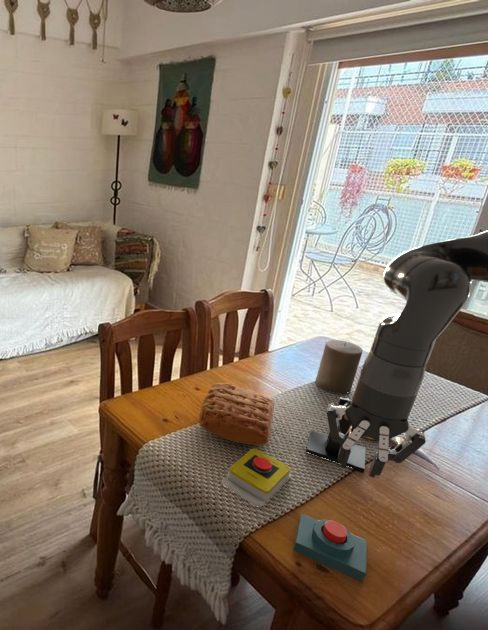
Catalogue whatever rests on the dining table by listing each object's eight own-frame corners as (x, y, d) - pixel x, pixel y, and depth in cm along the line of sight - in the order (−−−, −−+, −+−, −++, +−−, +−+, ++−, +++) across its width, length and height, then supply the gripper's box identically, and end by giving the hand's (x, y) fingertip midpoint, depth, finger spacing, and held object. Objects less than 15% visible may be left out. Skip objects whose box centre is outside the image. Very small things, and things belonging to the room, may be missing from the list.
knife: (449, 466, 103) (343, 411, 123) (453, 457, 102) (345, 403, 122) (433, 478, 99) (326, 419, 119) (437, 469, 98) (329, 411, 118)
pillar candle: (350, 398, 129) (364, 352, 124) (313, 388, 134) (325, 344, 128) (350, 383, 137) (364, 340, 131) (315, 374, 142) (327, 332, 136)
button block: (363, 548, 82) (369, 533, 80) (362, 582, 76) (369, 566, 74) (299, 521, 87) (303, 506, 86) (293, 550, 81) (298, 535, 80)
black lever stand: (364, 451, 107) (381, 404, 102) (363, 473, 100) (381, 423, 95) (309, 433, 113) (323, 388, 108) (305, 453, 106) (319, 405, 101)
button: (345, 533, 81) (347, 526, 80) (344, 547, 78) (346, 540, 77) (323, 524, 82) (325, 517, 82) (321, 537, 80) (323, 530, 79)
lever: (397, 445, 101) (405, 439, 100) (397, 457, 97) (406, 451, 96) (339, 405, 105) (347, 399, 104) (338, 415, 101) (345, 409, 100)
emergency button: (296, 461, 97) (264, 493, 88) (292, 476, 99) (260, 510, 90) (257, 439, 104) (222, 468, 94) (253, 454, 105) (219, 484, 96)
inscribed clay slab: (263, 463, 102) (270, 435, 99) (190, 439, 110) (194, 412, 107) (274, 415, 120) (280, 390, 117) (211, 397, 128) (215, 373, 125)
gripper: (334, 378, 68) (308, 465, 75) (450, 408, 61) (409, 502, 68) (337, 359, 74) (313, 441, 81) (443, 385, 67) (407, 473, 74)
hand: (357, 468), depth 74 cm, fingers open, 3 cm apart
